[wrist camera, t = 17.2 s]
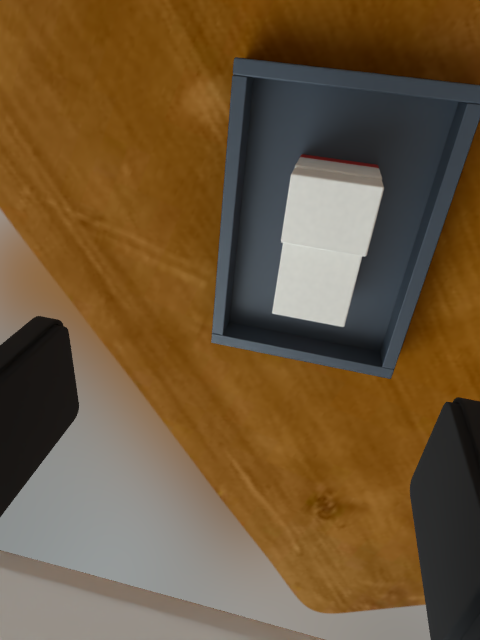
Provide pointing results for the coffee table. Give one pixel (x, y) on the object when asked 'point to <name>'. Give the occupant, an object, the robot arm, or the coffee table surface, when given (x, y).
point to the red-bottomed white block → (325, 237)
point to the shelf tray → (344, 144)
